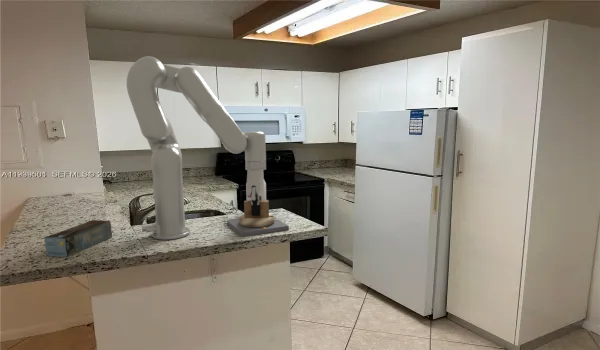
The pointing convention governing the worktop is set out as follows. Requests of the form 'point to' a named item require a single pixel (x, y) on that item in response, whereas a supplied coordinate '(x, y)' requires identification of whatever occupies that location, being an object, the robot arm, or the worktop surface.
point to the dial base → (249, 231)
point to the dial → (256, 221)
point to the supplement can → (262, 194)
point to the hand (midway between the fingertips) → (257, 213)
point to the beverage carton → (78, 238)
